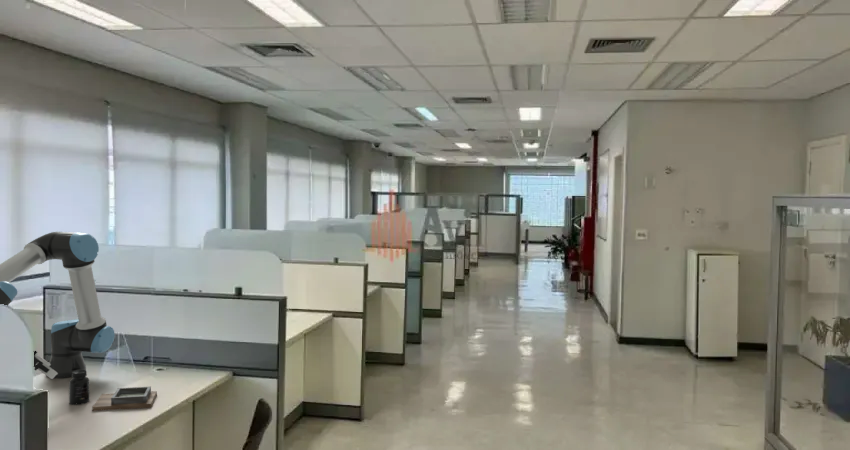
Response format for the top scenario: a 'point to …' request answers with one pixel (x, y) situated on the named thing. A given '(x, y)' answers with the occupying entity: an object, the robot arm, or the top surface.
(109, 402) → the base board
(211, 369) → the top surface
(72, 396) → the supplement bottle
